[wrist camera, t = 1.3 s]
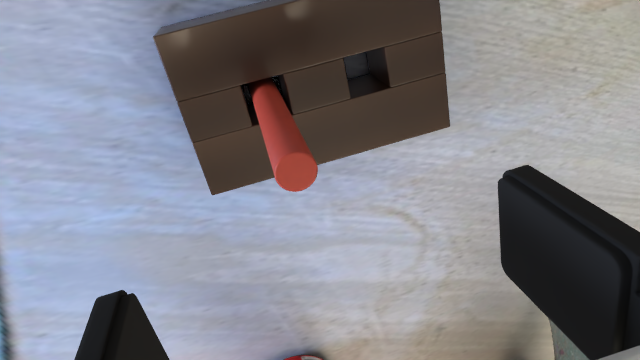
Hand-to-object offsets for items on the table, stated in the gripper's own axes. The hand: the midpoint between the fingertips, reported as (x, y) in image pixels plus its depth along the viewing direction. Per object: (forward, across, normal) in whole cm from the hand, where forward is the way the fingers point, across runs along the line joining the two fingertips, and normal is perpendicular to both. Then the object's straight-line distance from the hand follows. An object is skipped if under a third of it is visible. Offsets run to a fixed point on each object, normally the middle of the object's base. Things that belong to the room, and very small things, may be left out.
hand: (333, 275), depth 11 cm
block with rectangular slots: (+20, -3, 0) cm, 20 cm away
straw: (+20, 0, 0) cm, 20 cm away
